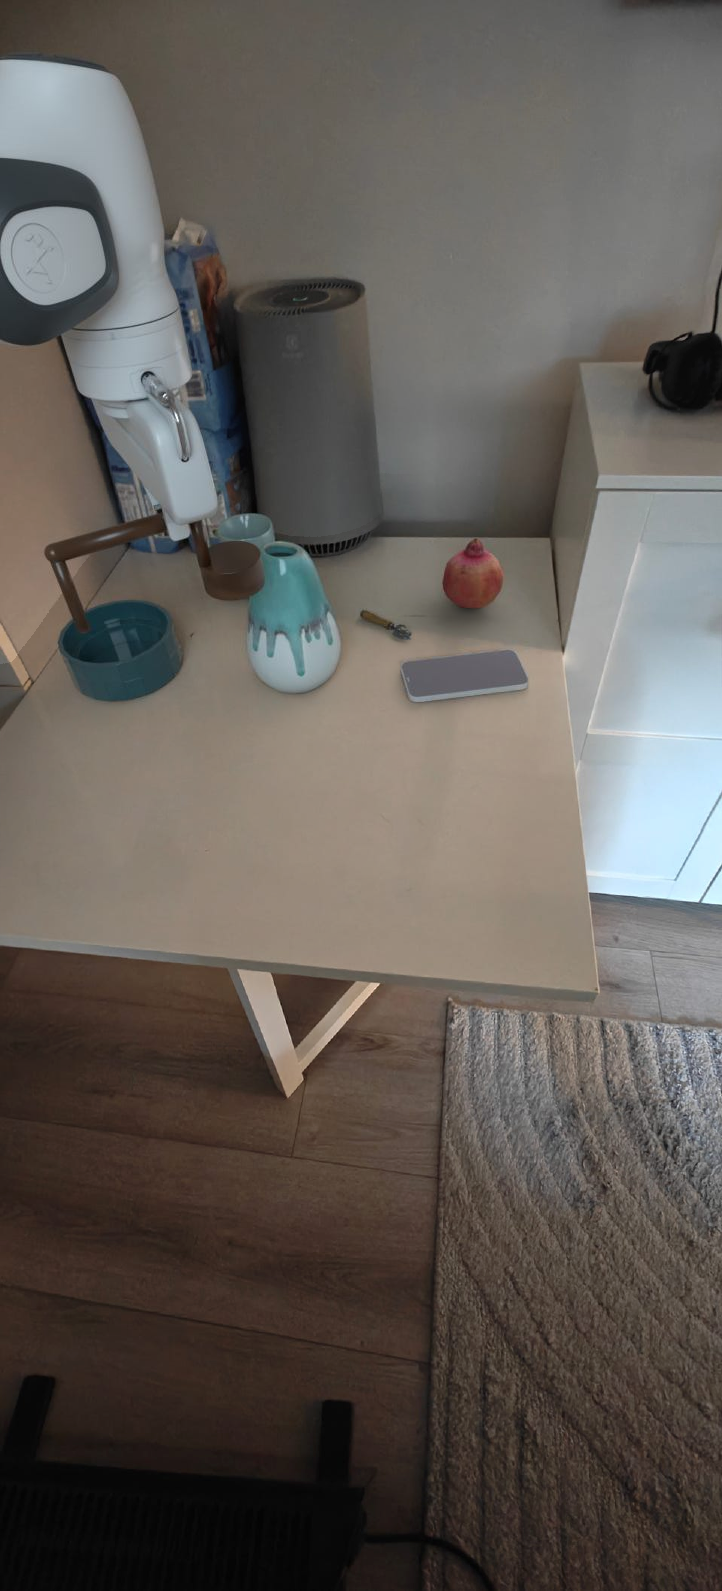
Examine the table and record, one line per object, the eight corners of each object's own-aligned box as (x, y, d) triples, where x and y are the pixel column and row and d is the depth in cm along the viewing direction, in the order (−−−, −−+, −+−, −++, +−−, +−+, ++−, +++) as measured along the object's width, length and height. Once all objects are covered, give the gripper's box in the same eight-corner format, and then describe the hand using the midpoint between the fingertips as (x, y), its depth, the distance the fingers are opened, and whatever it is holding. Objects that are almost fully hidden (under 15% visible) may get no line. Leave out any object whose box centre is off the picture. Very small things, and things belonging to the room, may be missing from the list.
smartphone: (531, 683, 89) (409, 698, 88) (530, 689, 89) (409, 704, 88) (514, 647, 94) (399, 661, 93) (513, 653, 94) (399, 667, 93)
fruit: (431, 600, 104) (432, 534, 96) (480, 585, 106) (485, 519, 98) (460, 629, 98) (463, 562, 91) (511, 612, 100) (518, 545, 93)
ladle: (251, 561, 75) (236, 476, 68) (275, 588, 71) (261, 501, 64) (69, 619, 69) (33, 532, 63) (84, 651, 66) (49, 563, 59)
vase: (331, 641, 98) (319, 514, 85) (353, 694, 90) (343, 563, 77) (246, 658, 96) (220, 531, 83) (261, 713, 89) (235, 583, 76)
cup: (279, 604, 105) (269, 539, 98) (226, 605, 105) (212, 541, 98) (284, 575, 110) (275, 511, 103) (233, 577, 111) (221, 513, 103)
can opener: (359, 618, 101) (358, 611, 100) (371, 611, 102) (371, 604, 101) (406, 644, 97) (406, 637, 96) (418, 637, 98) (418, 629, 97)
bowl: (131, 717, 90) (117, 678, 85) (51, 683, 95) (33, 645, 91) (204, 654, 98) (194, 616, 93) (126, 627, 103) (113, 589, 99)
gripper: (218, 386, 50) (250, 570, 60) (131, 318, 62) (170, 479, 72) (128, 407, 48) (177, 593, 58) (58, 332, 60) (108, 496, 71)
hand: (173, 529), depth 65 cm, fingers closed on ladle
